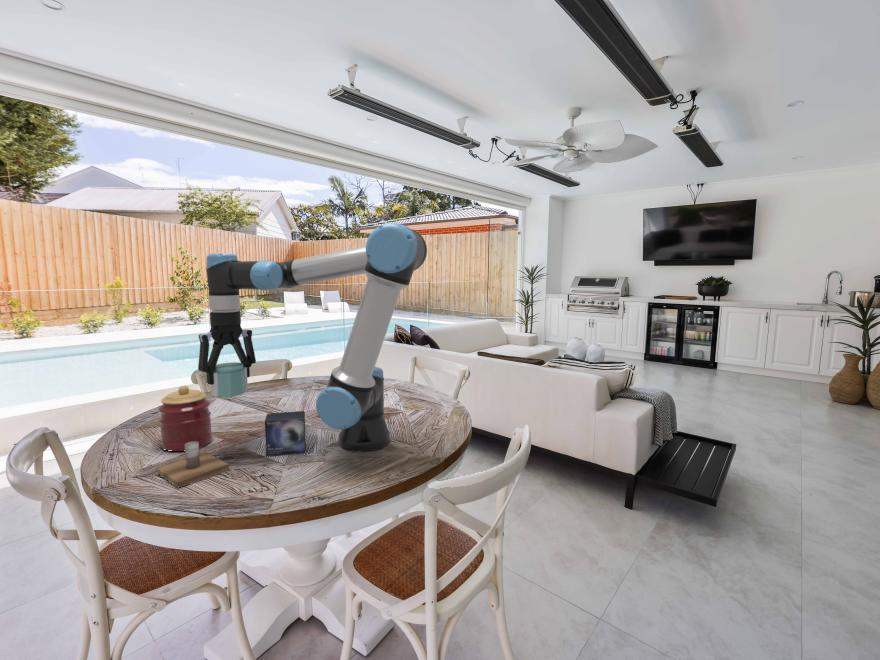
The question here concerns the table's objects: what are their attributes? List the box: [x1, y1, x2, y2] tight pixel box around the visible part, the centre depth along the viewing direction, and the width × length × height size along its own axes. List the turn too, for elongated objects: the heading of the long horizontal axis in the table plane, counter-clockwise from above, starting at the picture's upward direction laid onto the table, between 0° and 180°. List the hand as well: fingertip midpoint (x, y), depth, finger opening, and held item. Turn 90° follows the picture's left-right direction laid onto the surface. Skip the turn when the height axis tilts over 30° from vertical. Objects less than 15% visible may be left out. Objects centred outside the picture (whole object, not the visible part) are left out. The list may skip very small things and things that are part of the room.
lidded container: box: [214, 361, 247, 398], centre depth 117 cm, size 8×8×8 cm
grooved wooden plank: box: [156, 441, 230, 488], centre depth 106 cm, size 12×12×8 cm
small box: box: [264, 410, 307, 457], centre depth 120 cm, size 11×6×10 cm, turn 106°
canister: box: [157, 385, 213, 452], centre depth 123 cm, size 13×13×18 cm
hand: (229, 392), depth 118 cm, fingers closed on lidded container, 7 cm apart
